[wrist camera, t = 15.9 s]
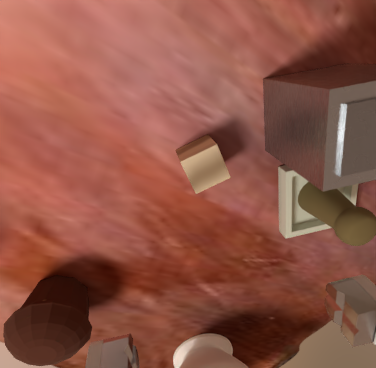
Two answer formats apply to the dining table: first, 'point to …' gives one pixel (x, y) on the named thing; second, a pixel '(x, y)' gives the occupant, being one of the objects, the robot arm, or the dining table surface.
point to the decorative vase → (206, 353)
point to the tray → (291, 211)
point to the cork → (339, 214)
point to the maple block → (203, 163)
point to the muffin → (50, 323)
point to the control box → (324, 124)
